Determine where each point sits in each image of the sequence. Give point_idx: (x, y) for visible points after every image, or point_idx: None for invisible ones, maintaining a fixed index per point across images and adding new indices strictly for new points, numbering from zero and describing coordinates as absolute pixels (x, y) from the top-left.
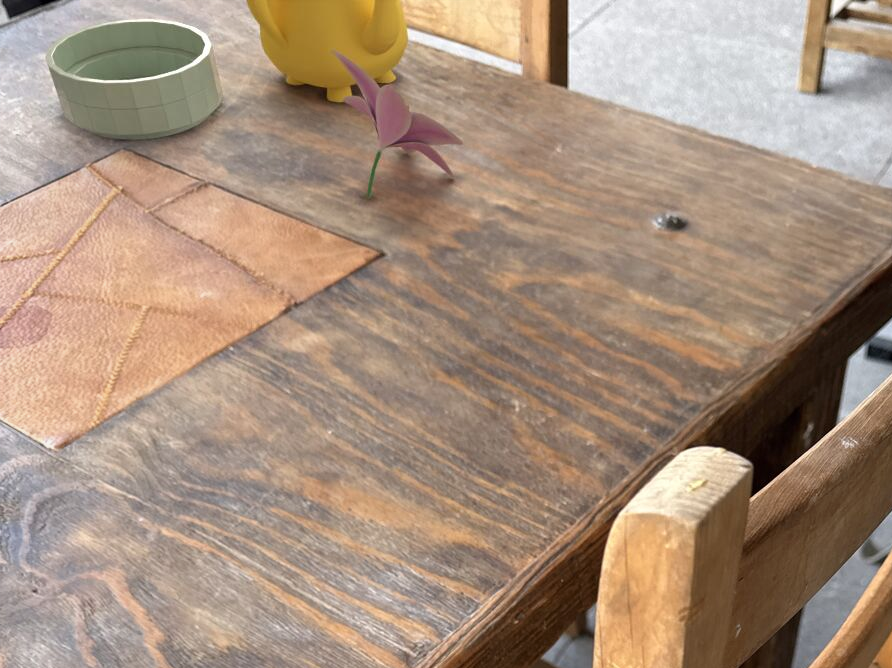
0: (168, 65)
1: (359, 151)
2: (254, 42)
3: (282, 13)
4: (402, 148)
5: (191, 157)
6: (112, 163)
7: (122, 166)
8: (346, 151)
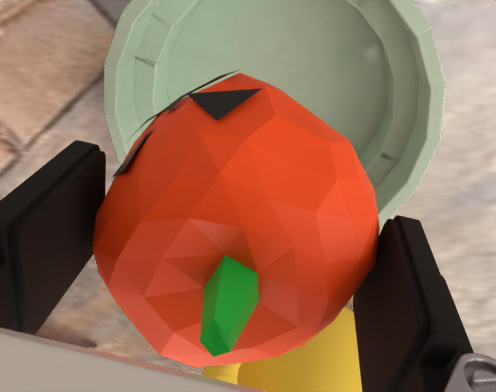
0: (364, 159)
1: (104, 313)
2: (492, 277)
3: (246, 376)
4: (94, 348)
5: (96, 142)
6: (80, 22)
7: (69, 39)
8: (104, 303)
